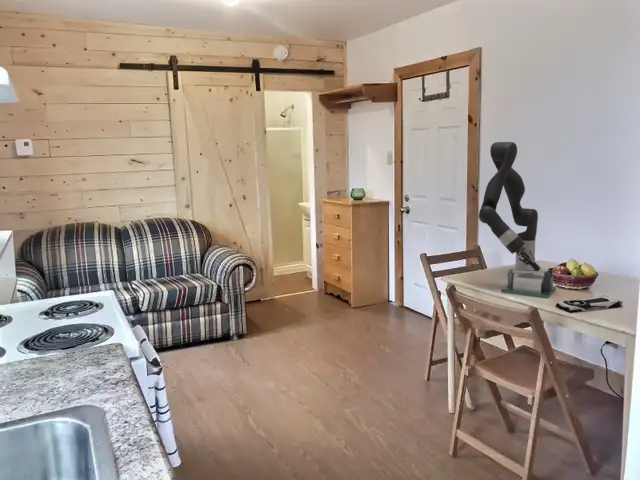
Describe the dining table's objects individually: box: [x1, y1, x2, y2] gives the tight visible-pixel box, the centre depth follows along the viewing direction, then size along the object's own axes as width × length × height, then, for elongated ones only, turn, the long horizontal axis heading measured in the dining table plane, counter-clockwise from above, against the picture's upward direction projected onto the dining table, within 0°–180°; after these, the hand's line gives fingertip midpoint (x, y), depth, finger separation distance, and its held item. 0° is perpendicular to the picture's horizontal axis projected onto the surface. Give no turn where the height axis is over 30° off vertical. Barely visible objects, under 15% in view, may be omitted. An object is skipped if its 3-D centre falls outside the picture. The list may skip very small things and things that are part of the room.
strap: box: [508, 268, 549, 275], centre depth 245 cm, size 17×3×2 cm, turn 55°
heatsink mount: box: [500, 270, 556, 299], centre depth 246 cm, size 20×16×10 cm
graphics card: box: [555, 295, 624, 314], centre depth 221 cm, size 10×3×25 cm
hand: (538, 269), depth 243 cm, fingers closed
